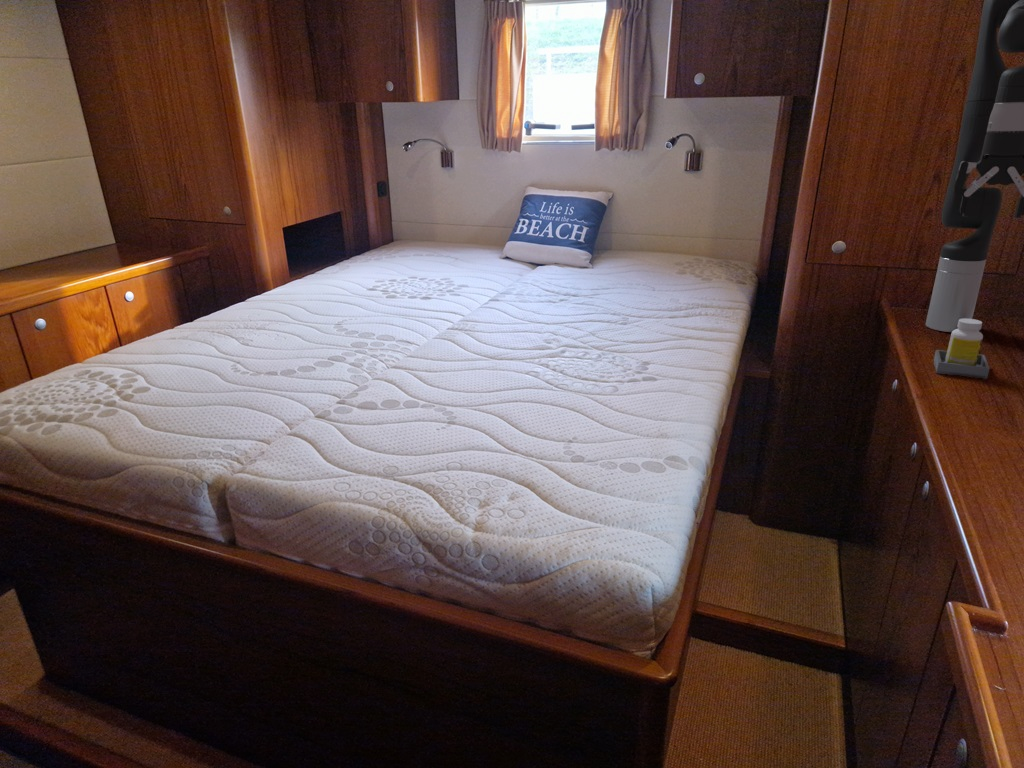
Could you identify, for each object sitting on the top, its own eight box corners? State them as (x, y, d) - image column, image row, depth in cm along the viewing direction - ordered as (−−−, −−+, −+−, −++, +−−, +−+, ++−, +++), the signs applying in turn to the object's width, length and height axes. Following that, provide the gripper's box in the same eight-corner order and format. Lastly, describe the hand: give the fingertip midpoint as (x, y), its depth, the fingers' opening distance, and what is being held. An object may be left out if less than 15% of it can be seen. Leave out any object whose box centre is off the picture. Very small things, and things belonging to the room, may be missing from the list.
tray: (933, 360, 142) (935, 349, 141) (981, 365, 138) (984, 354, 137) (936, 373, 135) (938, 362, 134) (986, 379, 131) (989, 368, 130)
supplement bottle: (979, 372, 133) (991, 325, 129) (949, 370, 134) (960, 324, 131) (968, 362, 138) (979, 317, 134) (939, 361, 139) (949, 316, 135)
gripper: (1054, 127, 124) (1031, 215, 130) (964, 129, 130) (946, 213, 136) (1063, 128, 118) (1038, 220, 124) (968, 130, 124) (949, 218, 130)
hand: (990, 216), depth 130 cm, fingers open, 8 cm apart
